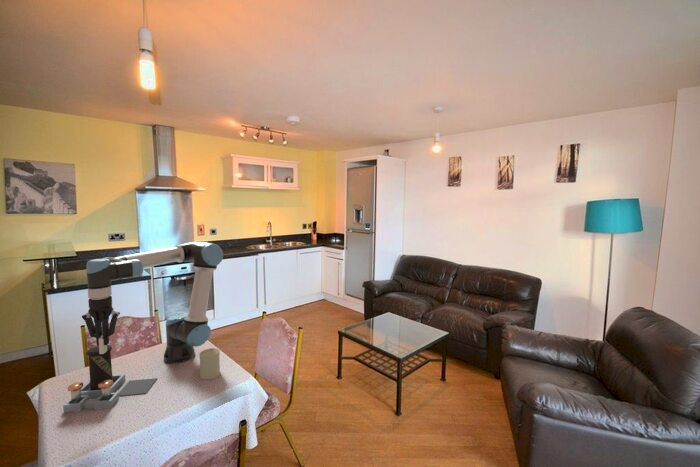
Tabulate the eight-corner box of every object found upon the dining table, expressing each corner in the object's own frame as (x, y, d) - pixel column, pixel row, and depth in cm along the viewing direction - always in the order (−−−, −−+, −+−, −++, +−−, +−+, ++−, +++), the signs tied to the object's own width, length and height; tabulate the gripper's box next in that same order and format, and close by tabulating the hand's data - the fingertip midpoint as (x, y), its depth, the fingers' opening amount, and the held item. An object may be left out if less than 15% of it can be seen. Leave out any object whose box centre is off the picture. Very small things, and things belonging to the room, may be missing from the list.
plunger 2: (116, 393, 135) (115, 379, 134) (109, 400, 130) (108, 385, 129) (103, 394, 134) (102, 380, 133) (96, 401, 129) (95, 386, 128)
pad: (157, 378, 151) (157, 378, 151) (146, 393, 139) (146, 392, 139) (129, 381, 149) (129, 380, 149) (116, 396, 137) (115, 395, 137)
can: (223, 370, 160) (223, 347, 159) (214, 380, 151) (213, 356, 150) (206, 369, 161) (205, 346, 160) (196, 379, 152) (195, 355, 150)
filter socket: (125, 380, 150) (124, 374, 149) (110, 396, 137) (109, 390, 137) (94, 382, 147) (94, 376, 147) (76, 399, 135) (75, 393, 134)
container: (100, 396, 137) (98, 352, 135) (84, 393, 139) (81, 350, 137) (119, 385, 145) (116, 344, 144) (103, 382, 147) (100, 342, 145)
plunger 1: (86, 396, 132) (85, 381, 132) (79, 403, 128) (78, 388, 127) (73, 397, 131) (72, 382, 131) (65, 404, 127) (64, 389, 126)
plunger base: (118, 398, 135) (118, 392, 135) (111, 407, 130) (110, 401, 129) (73, 403, 132) (73, 396, 132) (63, 412, 126) (63, 405, 126)
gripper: (122, 293, 132) (125, 347, 135) (87, 295, 130) (91, 349, 132) (113, 299, 125) (116, 355, 127) (75, 300, 123) (79, 358, 125)
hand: (103, 352), depth 130 cm, fingers closed
